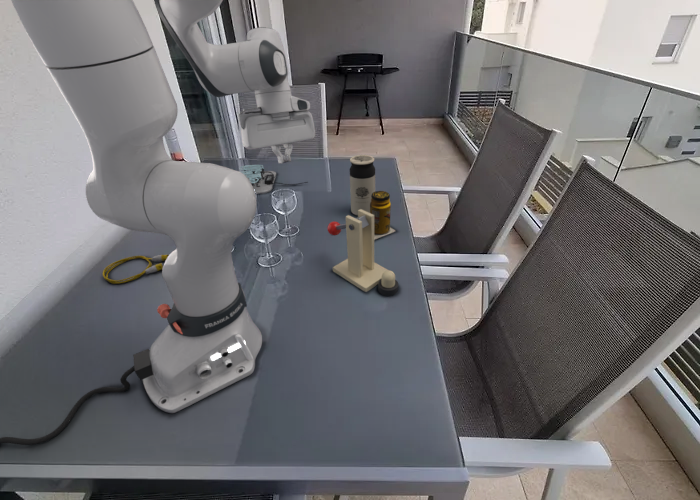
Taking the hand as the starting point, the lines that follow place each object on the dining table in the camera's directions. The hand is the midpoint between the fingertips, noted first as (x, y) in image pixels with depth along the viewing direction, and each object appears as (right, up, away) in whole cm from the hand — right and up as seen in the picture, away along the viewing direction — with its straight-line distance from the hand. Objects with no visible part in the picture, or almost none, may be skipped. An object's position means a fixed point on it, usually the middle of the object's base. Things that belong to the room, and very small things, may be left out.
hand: (284, 162), depth 92 cm
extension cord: (-41, -29, +2) cm, 50 cm away
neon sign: (-14, +4, +48) cm, 50 cm away
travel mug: (+22, -10, +25) cm, 34 cm away
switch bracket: (+20, -29, -2) cm, 35 cm away
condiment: (+26, -17, +14) cm, 34 cm away
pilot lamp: (+26, -32, -8) cm, 43 cm away
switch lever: (+17, -19, -6) cm, 26 cm away
